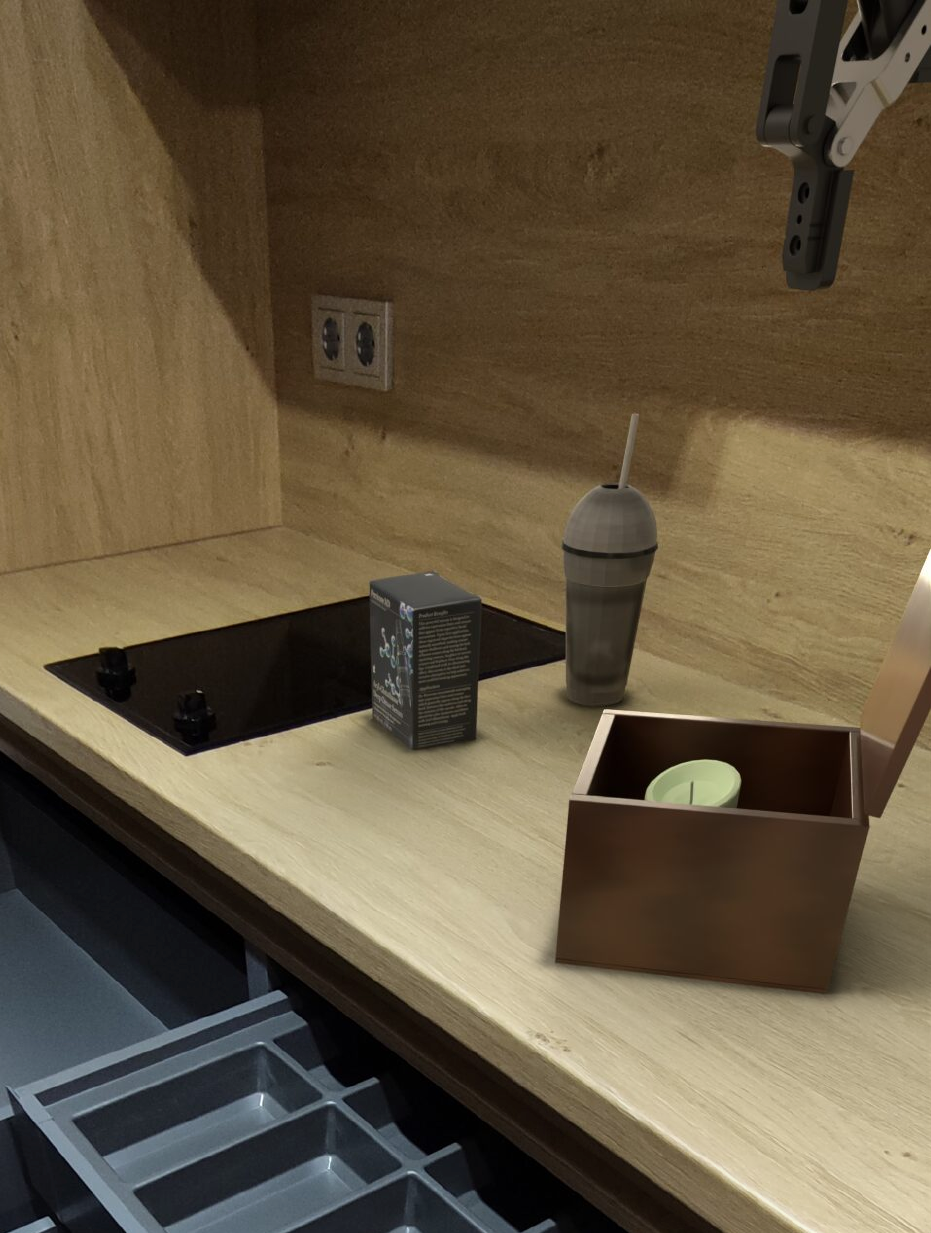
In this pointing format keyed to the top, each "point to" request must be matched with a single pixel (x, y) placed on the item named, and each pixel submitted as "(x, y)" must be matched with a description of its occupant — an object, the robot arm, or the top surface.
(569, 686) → the beverage cup
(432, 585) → the box
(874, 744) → the lid
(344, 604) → the top surface
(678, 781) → the candle
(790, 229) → the robot arm
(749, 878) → the chest
